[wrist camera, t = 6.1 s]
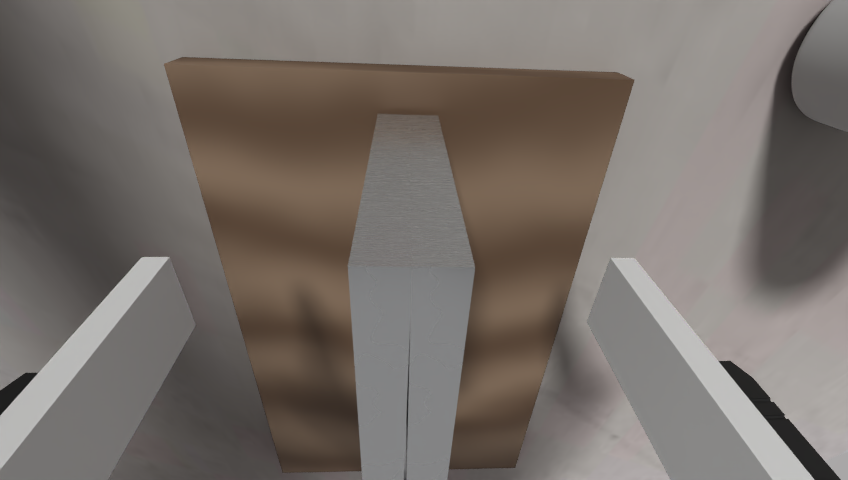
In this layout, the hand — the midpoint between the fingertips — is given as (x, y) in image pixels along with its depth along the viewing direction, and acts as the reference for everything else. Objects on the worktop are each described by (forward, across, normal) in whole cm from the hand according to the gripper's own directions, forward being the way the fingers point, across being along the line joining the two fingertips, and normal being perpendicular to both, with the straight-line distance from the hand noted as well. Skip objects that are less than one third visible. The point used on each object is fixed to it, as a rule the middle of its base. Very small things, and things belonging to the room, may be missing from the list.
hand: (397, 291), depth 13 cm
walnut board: (+8, 0, -9) cm, 12 cm away
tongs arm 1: (+6, 0, -8) cm, 10 cm away
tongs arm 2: (+6, +1, -8) cm, 10 cm away
